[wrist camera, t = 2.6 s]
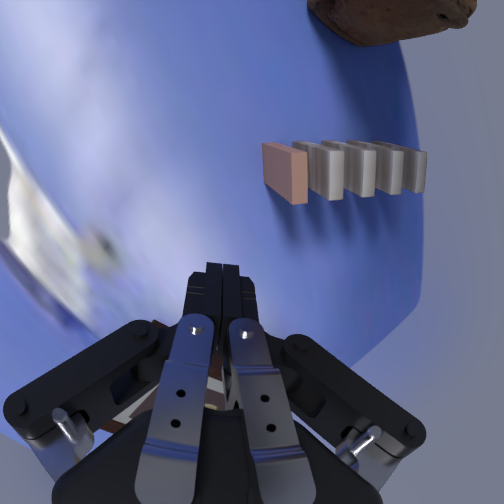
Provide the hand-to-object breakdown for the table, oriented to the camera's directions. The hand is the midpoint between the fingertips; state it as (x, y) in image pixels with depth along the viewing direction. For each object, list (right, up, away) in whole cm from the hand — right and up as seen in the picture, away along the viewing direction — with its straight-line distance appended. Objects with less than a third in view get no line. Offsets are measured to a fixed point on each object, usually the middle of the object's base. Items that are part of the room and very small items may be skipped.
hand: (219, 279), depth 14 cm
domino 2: (+8, +13, +23) cm, 27 cm away
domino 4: (+19, +15, +25) cm, 35 cm away
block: (+13, +33, +15) cm, 38 cm away
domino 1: (+4, +12, +22) cm, 25 cm away
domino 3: (+15, +14, +24) cm, 32 cm away
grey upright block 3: (+11, +14, +24) cm, 29 cm away
